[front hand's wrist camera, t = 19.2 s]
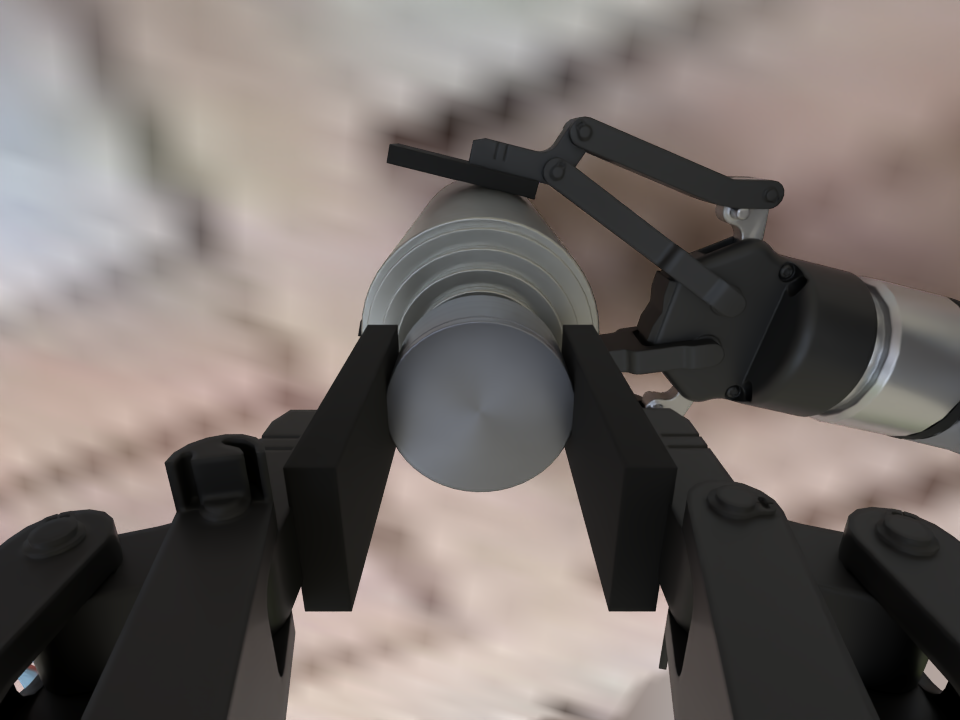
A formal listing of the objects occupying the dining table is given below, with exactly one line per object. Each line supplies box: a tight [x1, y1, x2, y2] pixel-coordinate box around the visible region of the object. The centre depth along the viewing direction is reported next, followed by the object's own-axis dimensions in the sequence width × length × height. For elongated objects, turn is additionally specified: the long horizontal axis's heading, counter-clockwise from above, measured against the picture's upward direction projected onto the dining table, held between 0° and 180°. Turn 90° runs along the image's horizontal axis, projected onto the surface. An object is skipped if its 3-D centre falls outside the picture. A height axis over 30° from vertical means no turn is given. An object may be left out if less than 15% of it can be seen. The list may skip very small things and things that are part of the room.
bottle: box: [361, 181, 599, 352], centre depth 23 cm, size 7×7×21 cm
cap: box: [386, 295, 574, 492], centre depth 13 cm, size 4×4×2 cm
